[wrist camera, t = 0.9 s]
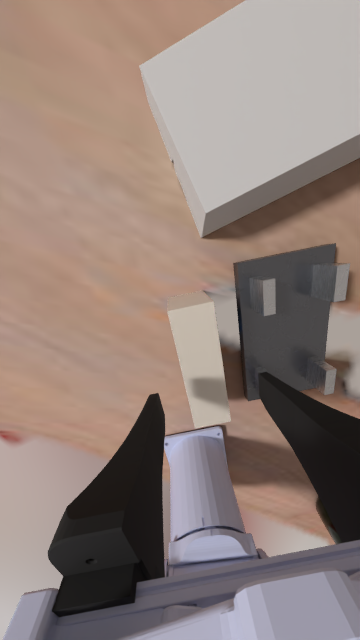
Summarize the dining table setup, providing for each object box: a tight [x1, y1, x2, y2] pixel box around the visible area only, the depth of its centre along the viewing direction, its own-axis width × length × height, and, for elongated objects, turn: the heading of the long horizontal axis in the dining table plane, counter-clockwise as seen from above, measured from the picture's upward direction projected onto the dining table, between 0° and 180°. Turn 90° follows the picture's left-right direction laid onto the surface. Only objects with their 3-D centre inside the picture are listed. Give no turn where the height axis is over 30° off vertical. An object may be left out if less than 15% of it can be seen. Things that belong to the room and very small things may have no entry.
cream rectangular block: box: [167, 291, 231, 428], centre depth 17 cm, size 12×4×5 cm, turn 11°
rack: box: [234, 243, 350, 401], centre depth 18 cm, size 16×9×4 cm, turn 11°
